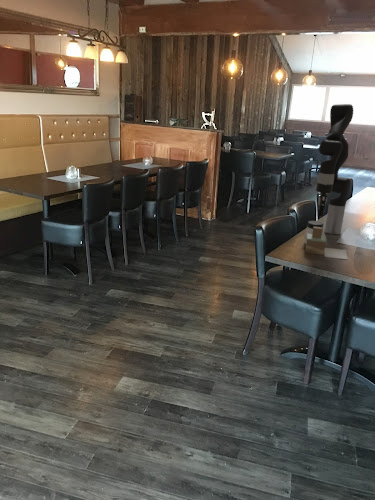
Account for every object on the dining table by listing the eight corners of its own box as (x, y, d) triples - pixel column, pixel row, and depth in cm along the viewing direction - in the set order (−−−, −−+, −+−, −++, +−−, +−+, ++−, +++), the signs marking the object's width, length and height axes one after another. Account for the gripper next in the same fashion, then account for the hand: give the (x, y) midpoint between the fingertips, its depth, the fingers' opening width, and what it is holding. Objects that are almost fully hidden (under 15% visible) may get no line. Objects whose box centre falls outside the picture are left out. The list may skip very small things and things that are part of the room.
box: (305, 247, 220) (307, 234, 218) (323, 249, 218) (325, 237, 216) (305, 252, 212) (307, 239, 210) (323, 255, 210) (325, 242, 207)
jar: (318, 241, 230) (321, 221, 226) (322, 246, 223) (326, 225, 219) (302, 240, 230) (305, 220, 226) (306, 245, 223) (309, 224, 219)
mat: (323, 248, 220) (323, 247, 220) (345, 250, 218) (345, 250, 218) (324, 257, 207) (324, 256, 207) (347, 260, 204) (347, 259, 204)
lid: (306, 237, 218) (308, 224, 216) (325, 239, 216) (327, 226, 214) (306, 242, 210) (308, 229, 207) (325, 245, 208) (327, 231, 205)
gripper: (317, 179, 210) (312, 210, 216) (317, 184, 197) (312, 216, 203) (332, 180, 208) (327, 211, 214) (334, 185, 195) (328, 218, 201)
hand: (320, 214), depth 208 cm, fingers open, 8 cm apart
